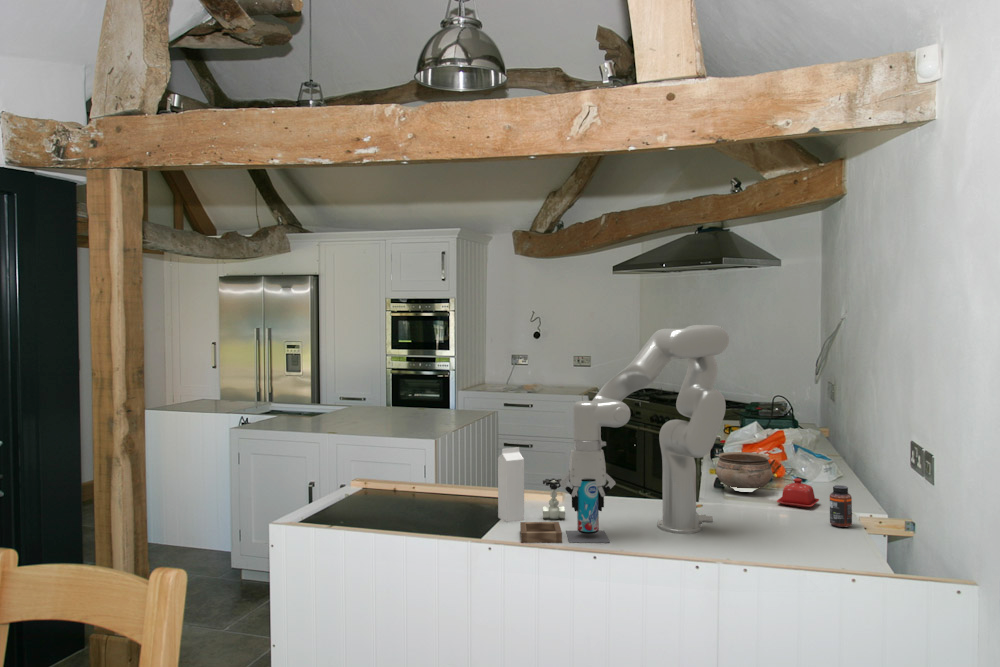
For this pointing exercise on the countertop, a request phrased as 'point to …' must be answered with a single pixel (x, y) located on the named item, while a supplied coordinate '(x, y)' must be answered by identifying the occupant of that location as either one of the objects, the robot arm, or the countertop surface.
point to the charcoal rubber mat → (587, 537)
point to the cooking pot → (744, 469)
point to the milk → (511, 485)
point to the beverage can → (588, 507)
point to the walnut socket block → (540, 532)
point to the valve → (553, 502)
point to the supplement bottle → (840, 507)
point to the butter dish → (798, 495)
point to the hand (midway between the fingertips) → (587, 509)
